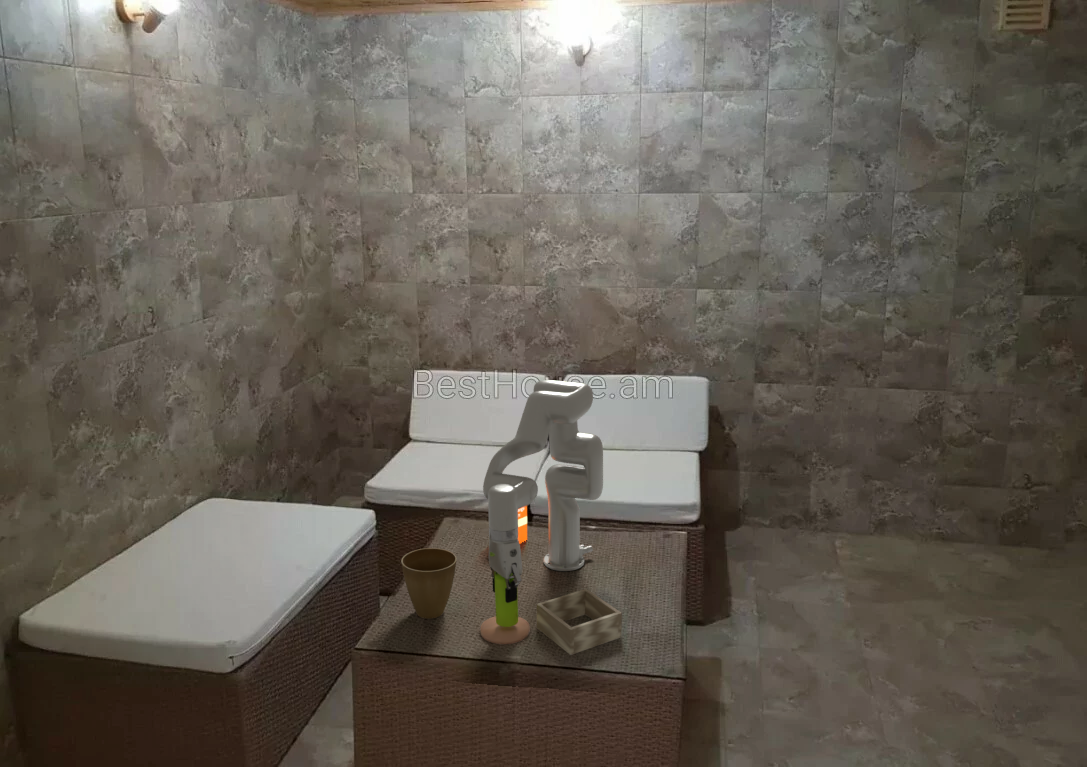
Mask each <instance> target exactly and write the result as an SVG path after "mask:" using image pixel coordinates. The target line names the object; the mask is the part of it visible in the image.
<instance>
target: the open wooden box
mask: <svg viewBox="0 0 1087 767" xmlns="http://www.w3.org/2000/svg"><path fill="white" fill-rule="evenodd" d="M582 616H586V617H588V618H590V619H591V620H589V621H586V622H583V623H579V624H577V625H574V626H571V625H569V623H566V621H569V620H572V619H575V618H579V617H582ZM622 616H623V612H621V611H620V610H618V609H617V608H616V607H614V606H612V604H610V603H608V602H607V601H605V600H604V599H602V598H600V597H599V596H597V595H596V594H595V593H593V592H592V591H591V590H589V589H587V588H585V589H580V590H577V591H575V592H571V593H568V594H564V595H562V596H558V597H555V598H552V599H548V600H546V601H541V602H538V603H537V604H536V629H538V630H539V631H540V632H541V633H543V634H544V635H545V636H546V637H547V638H548V639H550V640H551V641H553V642H554V644H556V645H557V646H558V647H560V648H561V649H562V650H564V651H565V652H566V653H567V654H568V655H569V656H572V655H575V654H577V653H580V652H583V651H586V650H589V649H592V648H595V647H597V646H600V645H603V644H606V643H609V642H611V641H615V640H617V639H620V638H622V625H623V624H622V621H623V620H622V619H623V617H622Z"/></svg>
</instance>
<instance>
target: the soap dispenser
mask: <svg viewBox="0 0 1087 767" xmlns="http://www.w3.org/2000/svg"><path fill="white" fill-rule="evenodd" d="M490 556H491V557H492V556H495V554H494V553H492V552H490ZM511 575H512V573H511V574H510V575H509V576H511ZM512 581H513V578H511V579H509V582H510V583H511V582H512ZM505 588H507V586H506V581H505V578H504V577H502V576H501V575H500V574H498V573H497V574H495V593H494V601H495V616H496V623H497V624H498V625H499V626H503V627H510V626H514V625H516V624H517V623H518V617H519V603H518V599H519V597H518V596H519V595H518V594H519V593H518V590H517V600H516V601H512V602H509V603H507V602H506V601H505Z"/></svg>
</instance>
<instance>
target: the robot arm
mask: <svg viewBox="0 0 1087 767" xmlns="http://www.w3.org/2000/svg"><path fill="white" fill-rule="evenodd" d="M593 401H594V392H593V389H592V388H591V386H589V385H588V384H586V383H581V382H573V381H563V380H555V379H554V380H553V379H541V380H539V381H537V382H536V383H535V384H534V385H533V392H532V393H530V395H529V396H528V398H527V399H526V401H525V402H526V403H525V406H524V408H523V412H522V414H521V415H522V416H521V418H520V421H519V425H518V427H517V430H516V435H515V437H513V439H511V440H510V441H508V442H507V443H505V444H504V445H503V446H501V448H499V450H498V451H496V453H495V454H494V455H493V457H492V458H491V460H490V462H489V464H488V468H487V470H486V473H485V477H484V480H483V484H482V485H483V486H482V491H483V492H482V493H483V496H484V498H486V499H487V500H488V501H487V502H488V504H487V505H488V509H487V510H488V539H489V540H488V558H487V561H488V564H489V567H490V568H489V569H490V570H491V574H490V576H491V578H492V592H493V593H494V594H495V574H497V573H498V574H500V575H501V576H502V577H504V578H505V581H506V586H507V588H505V601H506V602H507V603H509V602H512V601H516V600H517V591H518V587H519V585H520V583H521V582H522V577H521V576H522V575H523V563H522V551H521V543H520V544H519V540H518V509H520V508H522V507H525V506H527V507H528V506H529V505H531V504H532V503H533V502H534V501H535V499H536V498H537V497H538V492H539V486H538V483H537V482H536V480H534V479H533V478H531V477H527V476H524V475H523V476H520V475H515V474H509V473H504V471H505V469H506V468H507V467H508V466H509V465H510V464H511V463H513V462H515V461H516V460H519V459H521V458H524V457H528V456H530V455H531V456H532V455H535V454H537V453H539V452H541V451H543V450H544V449H545V447H546V445H547V441H548V442H549V454H550V457H551V459H552V460H553V461H555V462H558V464H554V465H551V466H550V467H548V469H547V470H546V473H545V476H544V483H545V489H546V494H547V495H546V496H547V504H548V553H547V554H545V556H543V564H544V566H545V567H546V568H548V569H551V570H554V571H558V572H571V571H576V570H578V569H580V568H582V567H583V566H584V564H585V557H584V556H585V555H586V554H588V553H592V552H593V549H594V548H593V546H592V545H588V546H585V545H584V544H580V543H581V542H580V541H581V540H580V535H581V534H580V531H581V530H580V527H581V525H580V521H581V520H580V519H581V516H580V515H581V514H580V513H581V512H580V511H581V510H580V506H579V504H578V501H577V500H576V499H579V500H586V501H595V500H598V499H600V497H601V496H602V493H603V490H604V489H603V488H604V447H603V442H602V440H601V438H600V437H599V436H598V435H596V434H593V433H587V432H581V431H579V429H578V426H579V425H578V420H580V419H581V418H582V417H584V415H586V414H587V413H588V412H589V410H591V407H592V404H593ZM559 463H561V464H559ZM562 463H564V464H562ZM577 465H578V466H577ZM490 552H492V553H494V554H495V556H492V557H491V556H490ZM511 573H512V575H511V576H509V575H510V574H511ZM511 578H513V581H512V582H511V583H510V582H509V579H511Z"/></svg>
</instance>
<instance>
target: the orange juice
mask: <svg viewBox="0 0 1087 767" xmlns="http://www.w3.org/2000/svg"><path fill="white" fill-rule="evenodd" d="M518 540H519V544H520V545H521V544H522V542H523V543H524V541H525V542H527V541H528V505H527V506H525V507H522V508H520V509H518ZM526 540H527V541H526Z"/></svg>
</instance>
